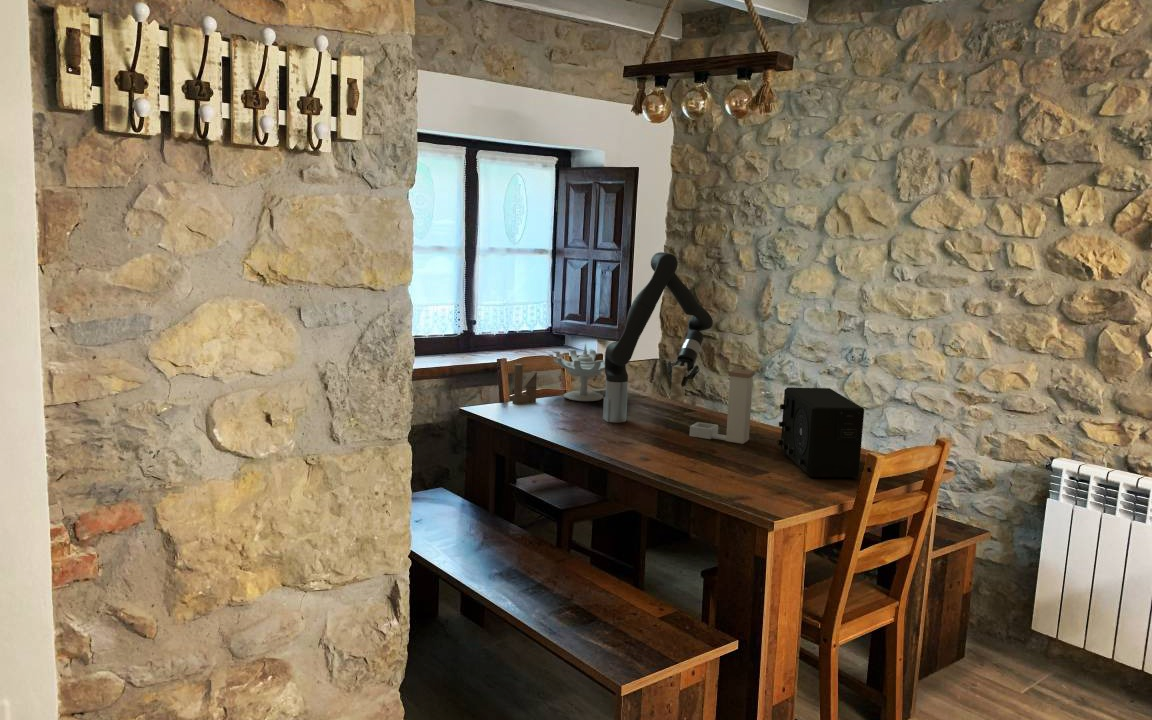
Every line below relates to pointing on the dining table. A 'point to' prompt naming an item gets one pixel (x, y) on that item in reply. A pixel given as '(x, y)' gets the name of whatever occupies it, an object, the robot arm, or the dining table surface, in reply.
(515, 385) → the wooden block
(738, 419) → the post
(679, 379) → the block
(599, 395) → the candelabra
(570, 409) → the dining table surface
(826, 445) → the vintage radio
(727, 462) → the dining table surface
